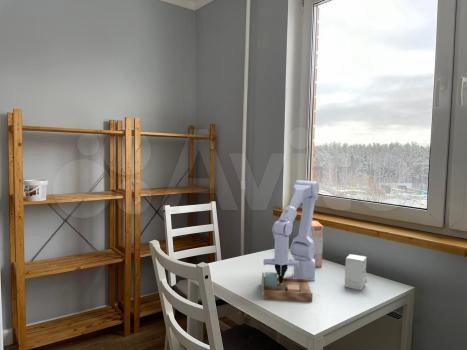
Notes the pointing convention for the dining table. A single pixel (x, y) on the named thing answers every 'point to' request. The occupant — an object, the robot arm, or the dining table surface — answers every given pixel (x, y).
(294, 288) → the clay block
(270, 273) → the teal block
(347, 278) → the supplement box
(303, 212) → the robot arm
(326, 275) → the dining table surface
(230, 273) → the dining table surface
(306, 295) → the brown wooden tray
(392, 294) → the dining table surface
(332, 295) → the dining table surface
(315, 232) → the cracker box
